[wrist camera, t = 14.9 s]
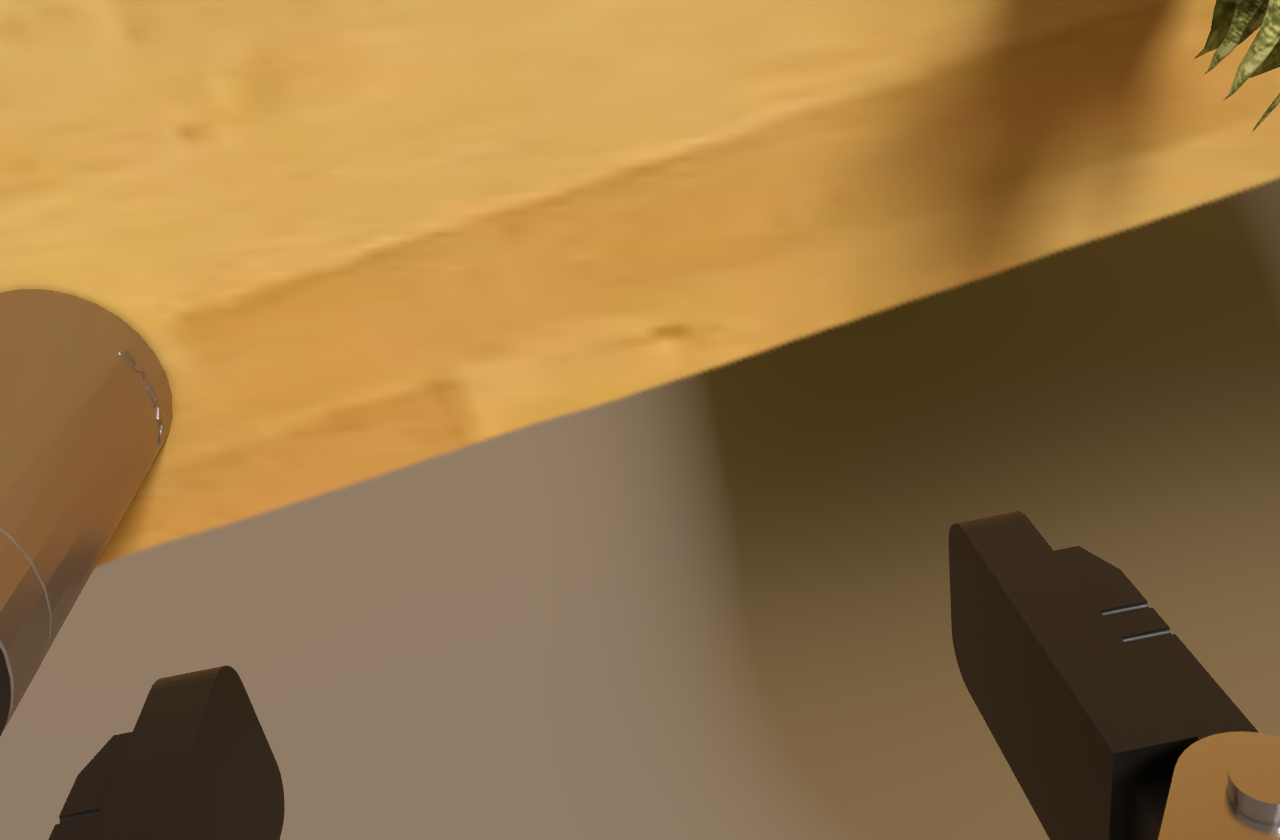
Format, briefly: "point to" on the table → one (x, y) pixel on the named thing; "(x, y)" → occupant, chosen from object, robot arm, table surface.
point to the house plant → (1238, 12)
